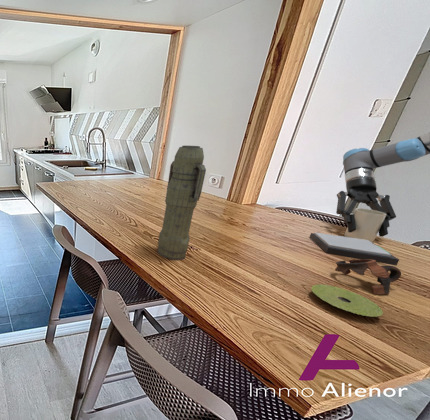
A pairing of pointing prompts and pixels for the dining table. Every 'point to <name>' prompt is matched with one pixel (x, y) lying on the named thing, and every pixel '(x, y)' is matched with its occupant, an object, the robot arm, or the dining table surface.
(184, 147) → the thermos
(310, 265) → the dining table surface
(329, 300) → the green disc
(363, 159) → the robot arm
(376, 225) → the cup
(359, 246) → the kitchen scale
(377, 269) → the brown branching piece
